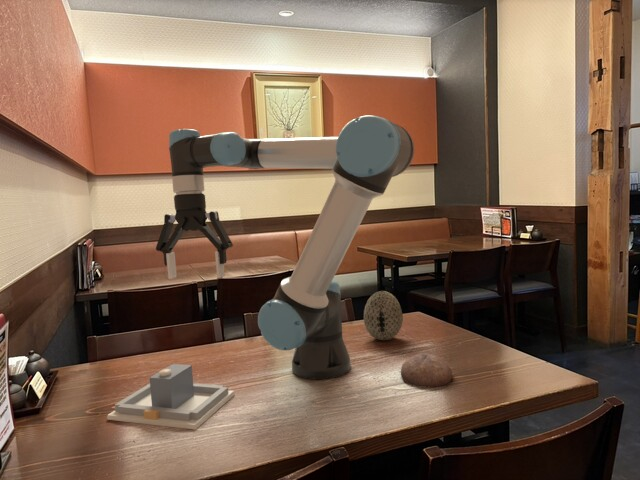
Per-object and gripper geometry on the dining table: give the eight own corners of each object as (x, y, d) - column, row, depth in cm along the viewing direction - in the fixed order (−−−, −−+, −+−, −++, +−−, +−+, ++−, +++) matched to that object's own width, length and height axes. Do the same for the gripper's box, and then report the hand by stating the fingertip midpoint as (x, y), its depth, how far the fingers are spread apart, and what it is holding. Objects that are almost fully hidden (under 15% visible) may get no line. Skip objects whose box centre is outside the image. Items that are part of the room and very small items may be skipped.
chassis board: (234, 394, 103) (233, 384, 103) (195, 429, 88) (194, 417, 88) (156, 388, 110) (155, 378, 109) (107, 419, 94) (106, 408, 94)
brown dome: (448, 369, 113) (448, 347, 112) (455, 389, 101) (454, 365, 100) (400, 368, 115) (399, 347, 114) (401, 388, 103) (400, 364, 102)
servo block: (194, 395, 102) (191, 361, 101) (172, 411, 94) (169, 375, 94) (175, 393, 103) (172, 360, 103) (152, 409, 96) (149, 373, 95)
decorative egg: (404, 334, 142) (402, 287, 141) (402, 346, 131) (400, 295, 130) (367, 333, 145) (365, 287, 144) (362, 345, 134) (359, 295, 133)
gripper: (241, 190, 114) (247, 274, 115) (154, 196, 120) (161, 275, 121) (228, 189, 106) (235, 279, 108) (136, 196, 113) (144, 281, 114)
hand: (196, 277), depth 115 cm, fingers open, 13 cm apart
